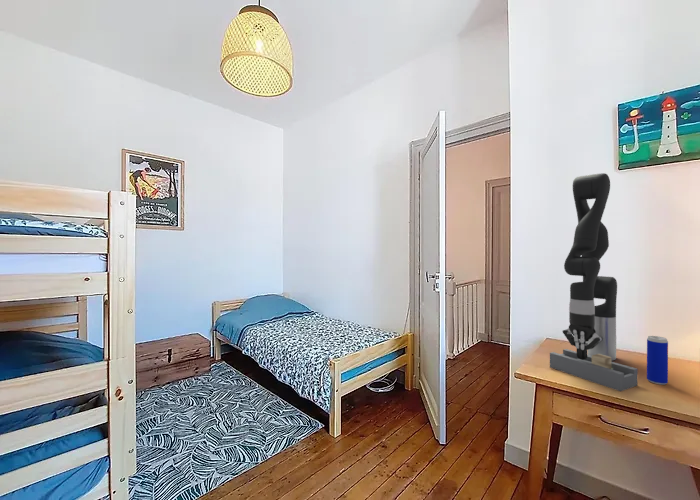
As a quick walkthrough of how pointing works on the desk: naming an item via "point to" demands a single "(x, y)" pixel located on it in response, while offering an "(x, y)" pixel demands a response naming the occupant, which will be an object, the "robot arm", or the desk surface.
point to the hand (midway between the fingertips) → (581, 359)
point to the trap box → (595, 370)
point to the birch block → (601, 360)
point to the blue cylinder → (657, 360)
